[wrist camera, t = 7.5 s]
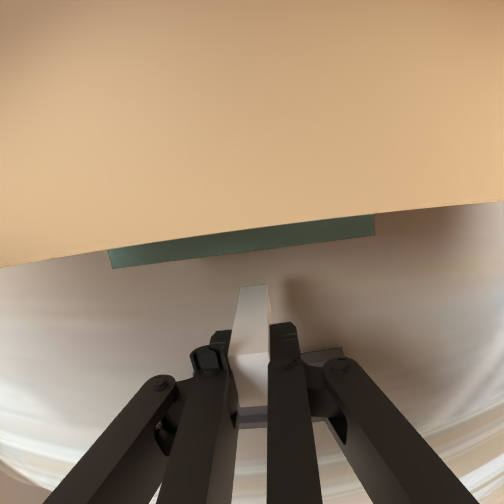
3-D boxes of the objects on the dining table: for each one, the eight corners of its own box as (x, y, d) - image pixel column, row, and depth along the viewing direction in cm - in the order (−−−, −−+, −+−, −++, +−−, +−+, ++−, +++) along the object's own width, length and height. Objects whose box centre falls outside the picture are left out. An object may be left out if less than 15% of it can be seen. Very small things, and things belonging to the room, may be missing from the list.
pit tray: (196, 363, 25) (192, 373, 24) (341, 347, 24) (345, 357, 23) (213, 419, 27) (211, 429, 26) (340, 406, 26) (343, 417, 25)
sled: (133, -44, 15) (93, -94, 7) (280, -72, 14) (284, -134, 6) (161, 230, 22) (112, 268, 14) (335, 206, 21) (374, 235, 13)
